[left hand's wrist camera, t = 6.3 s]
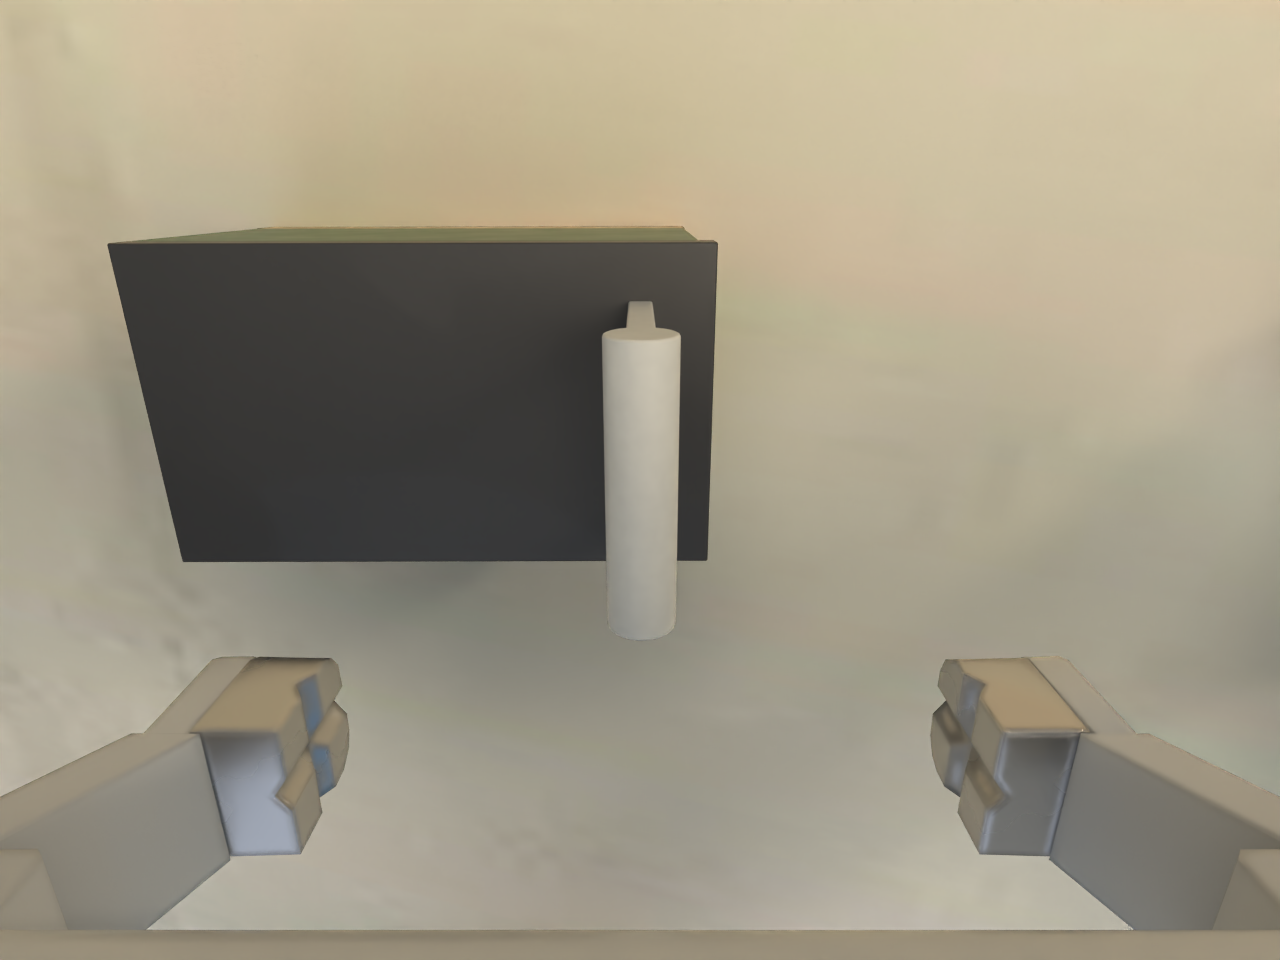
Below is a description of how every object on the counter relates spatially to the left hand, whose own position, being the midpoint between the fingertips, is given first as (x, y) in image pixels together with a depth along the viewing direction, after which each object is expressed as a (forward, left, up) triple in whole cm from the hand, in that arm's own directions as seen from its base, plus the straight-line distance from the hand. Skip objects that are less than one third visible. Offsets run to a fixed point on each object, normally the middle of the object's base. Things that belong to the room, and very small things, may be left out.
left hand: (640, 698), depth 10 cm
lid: (+3, -6, -15) cm, 16 cm away
